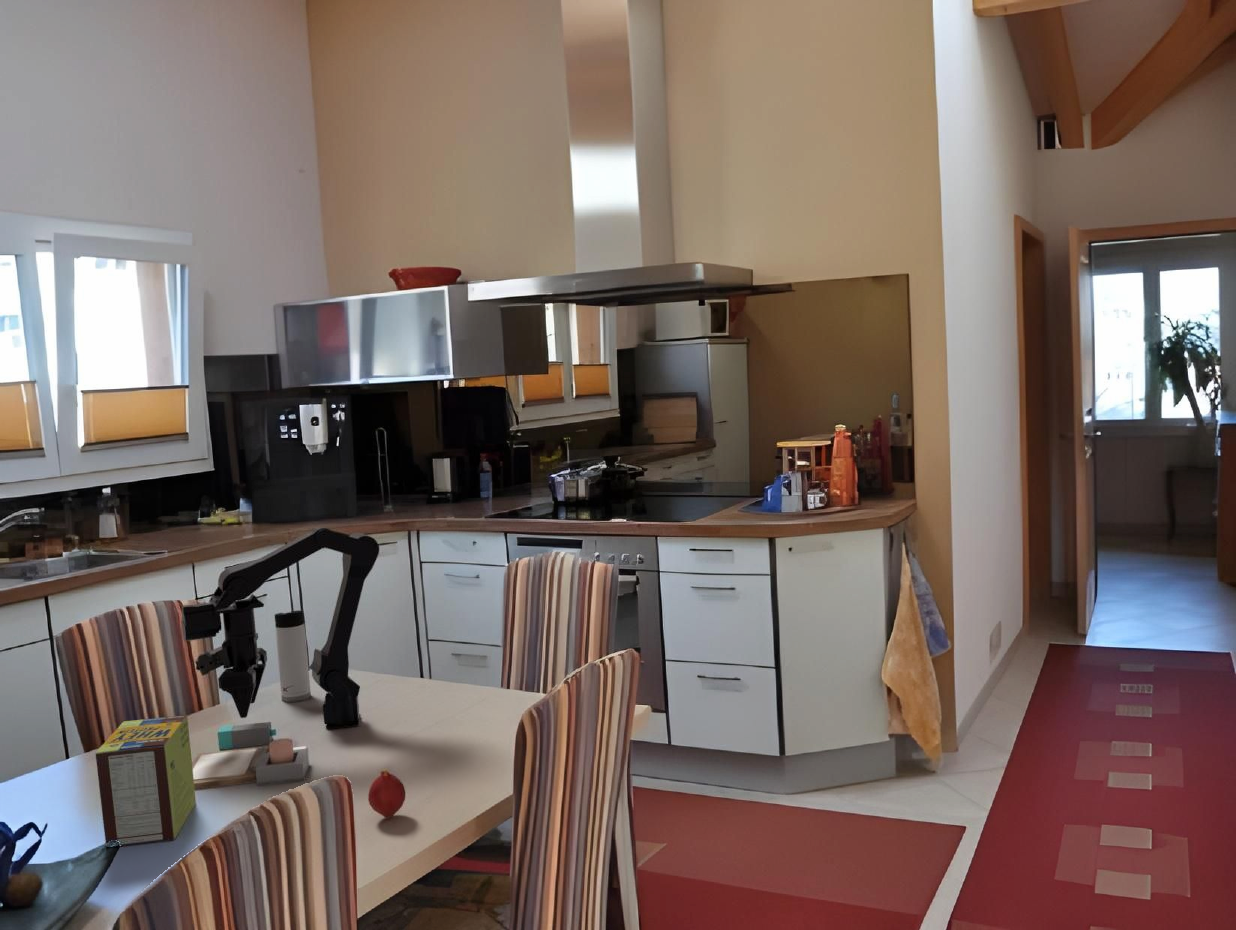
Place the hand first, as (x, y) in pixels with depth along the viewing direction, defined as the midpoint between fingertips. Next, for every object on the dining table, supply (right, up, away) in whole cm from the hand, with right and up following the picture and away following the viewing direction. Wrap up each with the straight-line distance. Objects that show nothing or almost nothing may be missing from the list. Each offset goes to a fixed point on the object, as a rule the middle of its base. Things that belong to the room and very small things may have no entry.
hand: (247, 710), depth 211 cm
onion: (+36, -9, -39) cm, 54 cm away
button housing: (+12, -8, -18) cm, 23 cm away
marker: (0, -7, +1) cm, 7 cm away
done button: (+12, -6, -18) cm, 22 cm away
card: (+10, -7, -7) cm, 14 cm away
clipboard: (+1, -8, -13) cm, 16 cm away
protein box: (-3, -11, -36) cm, 38 cm away
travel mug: (+1, -4, +29) cm, 29 cm away
